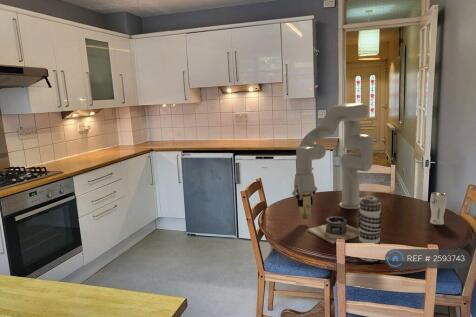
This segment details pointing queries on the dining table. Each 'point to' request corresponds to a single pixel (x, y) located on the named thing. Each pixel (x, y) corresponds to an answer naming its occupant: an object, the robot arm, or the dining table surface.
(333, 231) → the ring
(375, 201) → the decorative candle
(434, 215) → the beer glass
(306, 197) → the gold cylinder
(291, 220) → the dining table surface
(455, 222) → the dining table surface
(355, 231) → the board
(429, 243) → the dining table surface
